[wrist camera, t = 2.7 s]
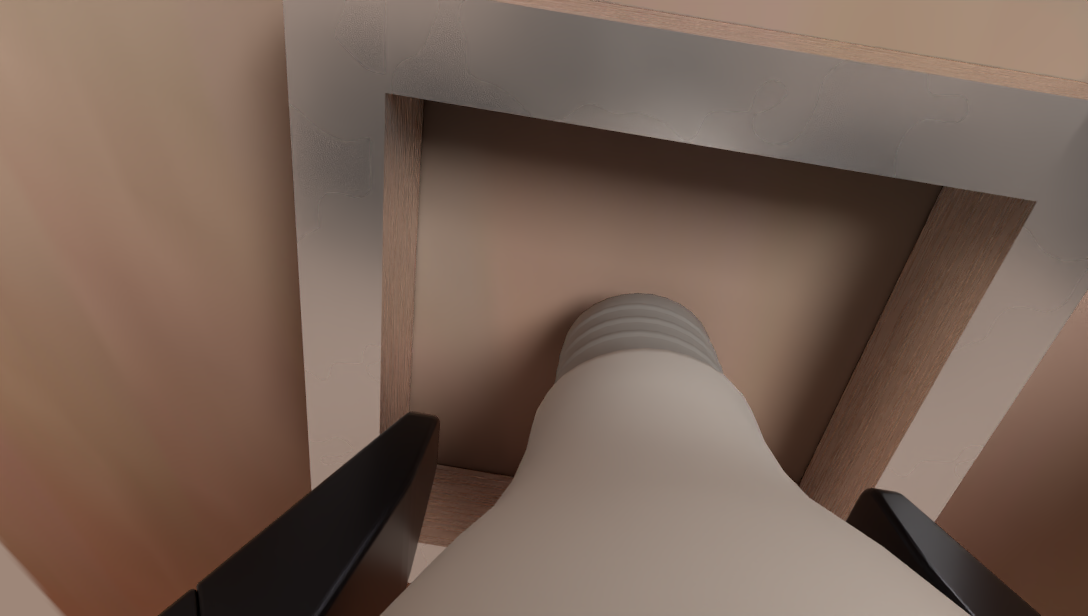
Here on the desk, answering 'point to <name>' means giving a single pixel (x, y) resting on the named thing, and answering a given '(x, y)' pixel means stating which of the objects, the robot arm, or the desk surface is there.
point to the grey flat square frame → (708, 120)
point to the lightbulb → (657, 500)
